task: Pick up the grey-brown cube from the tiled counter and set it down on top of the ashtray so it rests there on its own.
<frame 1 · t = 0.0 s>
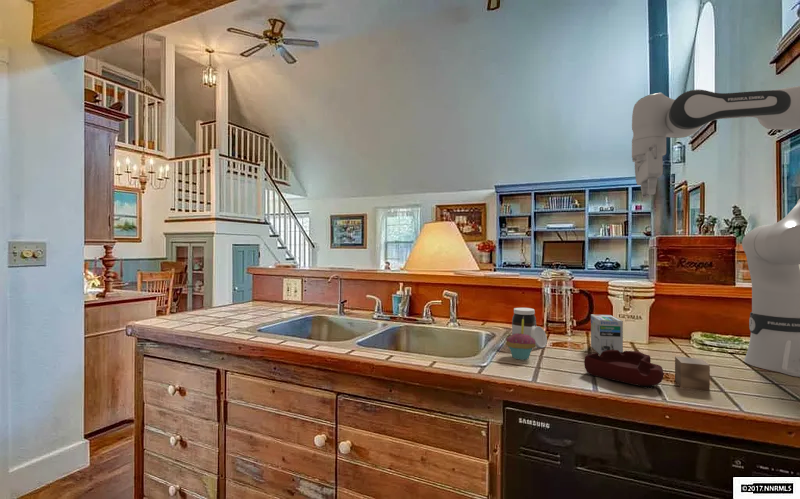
hand: (648, 196, 120), 48 cm above the counter, tool pointing down, fingers open, 8 cm apart
grey-brown cube: (691, 385, 95), on the counter
cupcake: (520, 358, 118), on the counter
spread jar: (529, 345, 134), on the counter
ashtray: (619, 378, 101), on the counter
light bulb box: (606, 352, 125), on the counter
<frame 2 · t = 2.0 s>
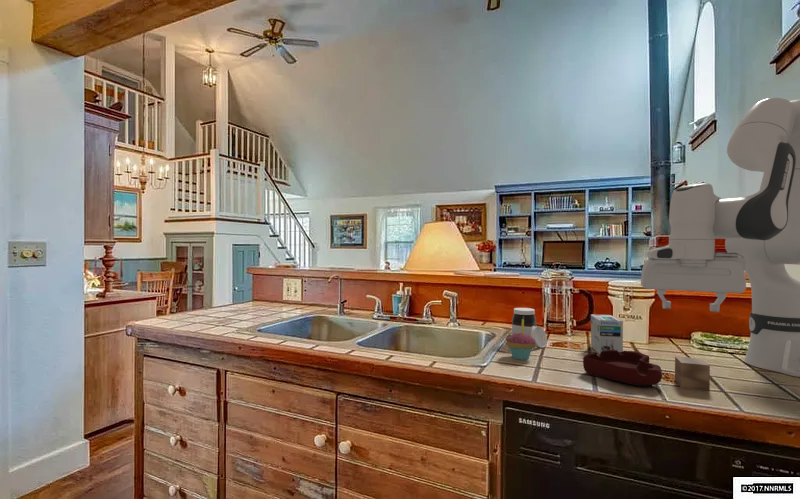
hand: (690, 310, 95), 18 cm above the counter, tool pointing down, fingers open, 8 cm apart
nothing on the counter moved.
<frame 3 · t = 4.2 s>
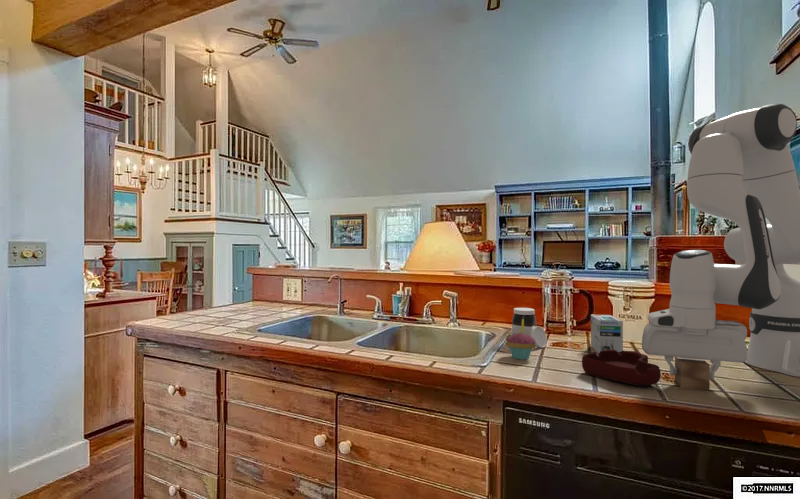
hand: (691, 376, 94), 2 cm above the counter, tool pointing down, fingers closed on grey-brown cube, 5 cm apart
grey-brown cube: (691, 385, 95), on the counter, touching gripper
everything else where it was.
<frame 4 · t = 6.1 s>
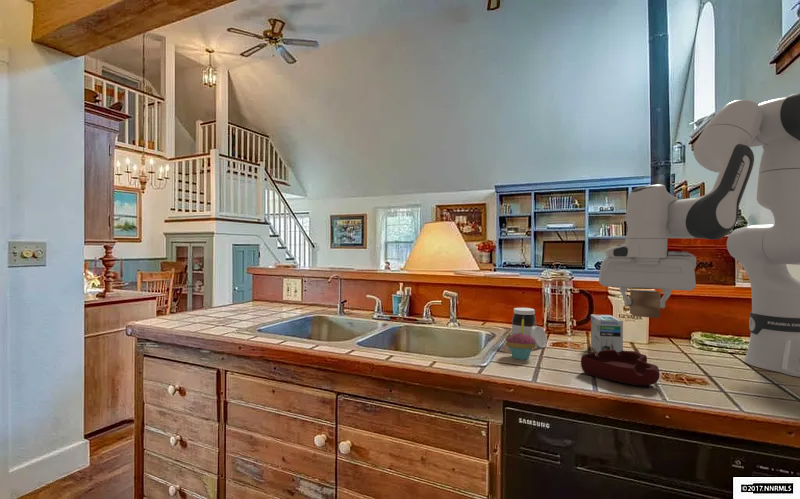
hand: (644, 306, 98), 18 cm above the counter, tool pointing down, fingers closed on grey-brown cube, 5 cm apart
grey-brown cube: (644, 315, 98), point 16 cm above the counter, touching gripper
everything else where it was.
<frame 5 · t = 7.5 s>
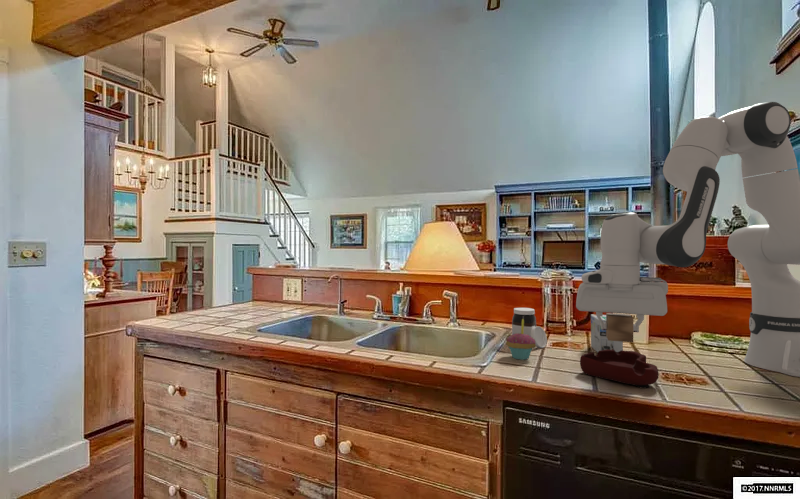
hand: (619, 330, 101), 12 cm above the counter, tool pointing down, fingers closed on grey-brown cube, 5 cm apart
grey-brown cube: (619, 338, 101), point 10 cm above the counter, touching gripper
everything else where it was.
when the fingers open (9 cm above the counter, at t = 8.5 s): grey-brown cube drops 2 cm, resting on ashtray.
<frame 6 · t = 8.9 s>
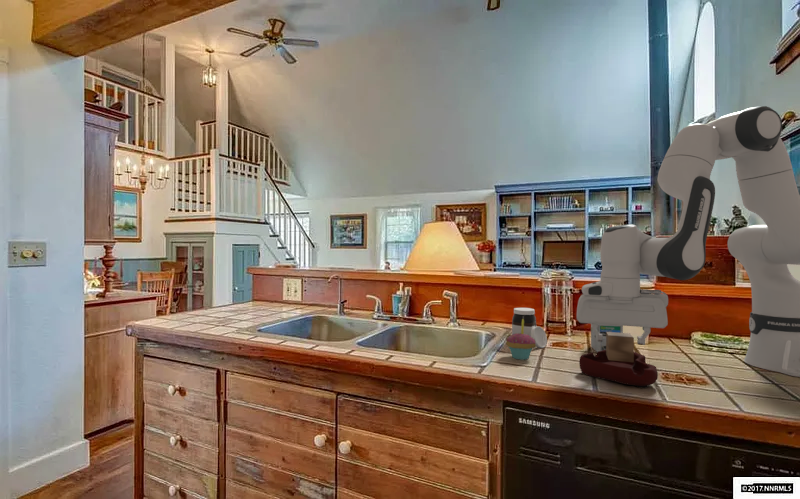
hand: (619, 342, 101), 9 cm above the counter, tool pointing down, fingers open, 8 cm apart
grey-brown cube: (619, 358, 101), point 5 cm above the counter, touching ashtray
ashtray: (614, 378, 102), on the counter, touching grey-brown cube
everything else where it was.
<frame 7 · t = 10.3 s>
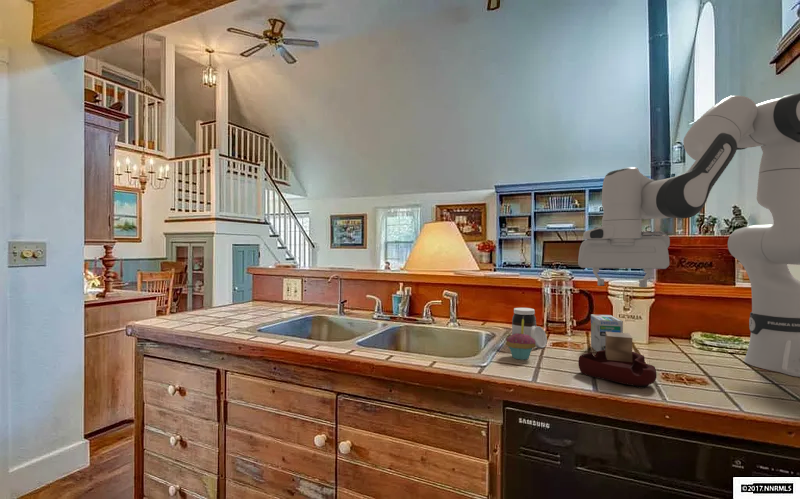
hand: (621, 286, 101), 23 cm above the counter, tool pointing down, fingers open, 8 cm apart
nothing on the counter moved.
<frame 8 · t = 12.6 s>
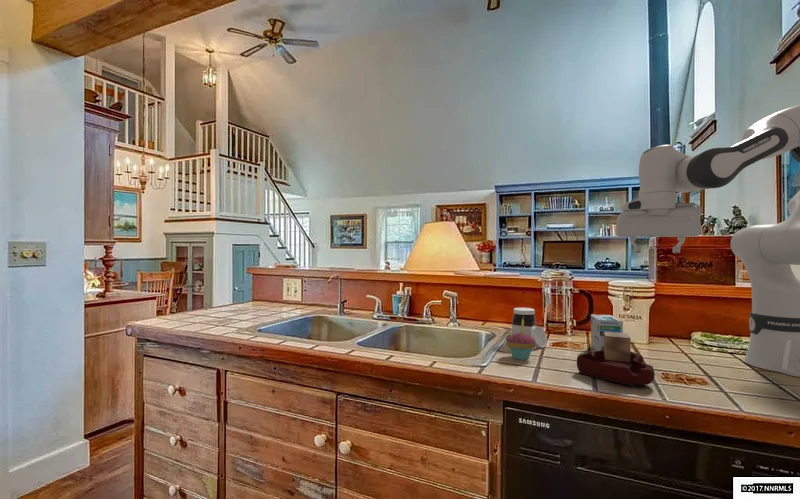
hand: (656, 252, 112), 31 cm above the counter, tool pointing down, fingers open, 8 cm apart
nothing on the counter moved.
at the end: grey-brown cube 1.2 cm from the ashtray (horizontally); grey-brown cube point 4.6 cm above the counter; grey-brown cube tilted 0° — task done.
